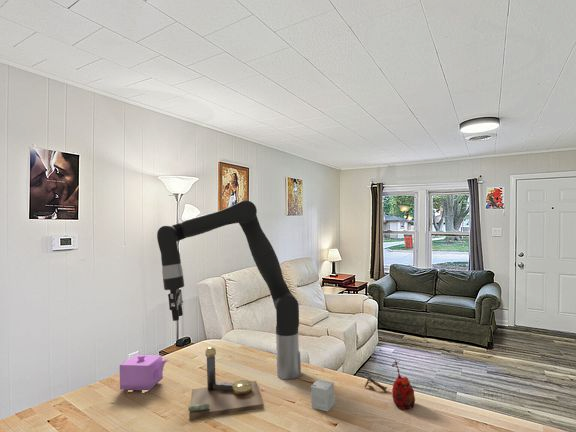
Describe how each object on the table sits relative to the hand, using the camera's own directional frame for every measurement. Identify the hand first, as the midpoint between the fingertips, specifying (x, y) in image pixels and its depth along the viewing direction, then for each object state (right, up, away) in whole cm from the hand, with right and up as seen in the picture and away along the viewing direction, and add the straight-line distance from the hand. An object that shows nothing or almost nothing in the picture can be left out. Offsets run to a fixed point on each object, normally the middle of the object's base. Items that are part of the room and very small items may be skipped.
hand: (178, 318), depth 134 cm
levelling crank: (+21, -25, -6) cm, 33 cm away
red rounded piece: (+81, -24, -18) cm, 87 cm away
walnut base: (+20, -26, -11) cm, 35 cm away
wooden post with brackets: (+75, -25, -7) cm, 79 cm away
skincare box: (+55, -25, -17) cm, 62 cm away
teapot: (-13, -28, +1) cm, 31 cm away
